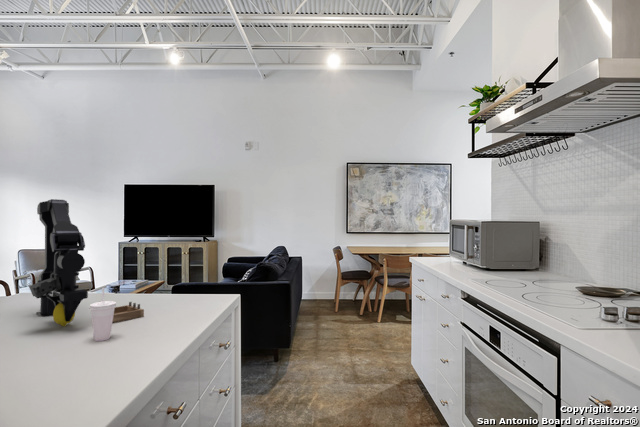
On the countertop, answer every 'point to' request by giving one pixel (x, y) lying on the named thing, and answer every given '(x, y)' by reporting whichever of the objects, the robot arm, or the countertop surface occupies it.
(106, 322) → the smoothie
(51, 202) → the robot arm
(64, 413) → the countertop surface
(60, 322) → the lemon
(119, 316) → the tray
